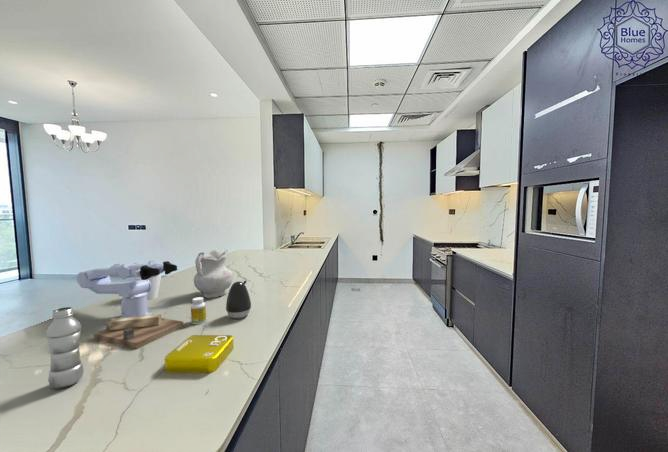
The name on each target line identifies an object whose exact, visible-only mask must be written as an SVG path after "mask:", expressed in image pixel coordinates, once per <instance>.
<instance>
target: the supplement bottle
mask: <svg viewBox="0 0 668 452" xmlns="http://www.w3.org/2000/svg"><path fill="white" fill-rule="evenodd" d="M206 311H207V310H206V303H205V302H204V297H203V296H198V297H194V298H192V304H191V306H190V320H191V324H193V325H200V324H204V323H205V322H206V321H207V312H206Z"/></svg>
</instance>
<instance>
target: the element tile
mask: <svg viewBox="0 0 668 452" xmlns="http://www.w3.org/2000/svg"><path fill="white" fill-rule="evenodd" d="M233 350H234V336H233V335H228V334H193V335H191V336H189V337H187V338H186V339H185V340H184V341H182V342H181V343H180V344H179V345H177V346H176V347H175V348H174V349H173V350H171V351H170V352H169V353H168V354H167V355H166V356H164V371H165V373H168V372H169V373H173V374H176V373H177V374H178V373H179V374H183V373H184V374H210V373H213V372H216V371H217V370H218V369H219V368H220V367H221V366H222V364H223V363H224V362H225V360H226V359H227V358H228V357H229V355H230V354H231V353H232V352H233Z"/></svg>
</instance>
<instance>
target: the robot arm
mask: <svg viewBox="0 0 668 452" xmlns="http://www.w3.org/2000/svg"><path fill="white" fill-rule="evenodd" d="M176 271H178V265H176V264H175V263H174V264H173V263H171V262H170V261H167V260H166V261H163V262H162V263H157V262H155V260H149V261H148V262H147V263H136V262H133V263H130V264H128V263H122V264H120V263H119V262H118V263H114V265H111V266H110V267H100V268H93V269H89V270H85V271H80V272H78V274H76V275H77V276H76V282H77V284H78V285H79V286H80V288H81V289H88V290H90V291H92V292H93V293H95V294H99V295H107V294H109V295H118V296H119V297H122V300H121V302H120V312H121V313H120V314H121V316H119V317H118V318H128V317H138V316H142V315H147V316H148V315H154V314H153V312H149V311H148V300H147V294H148V292H149V291H150V290H151V282H150V281H149V280H148V279H149V278H154V277H156V276H158V275H159V274H161V273H162V274H163V273H164V274H165V275H169V274H171V273H172V272H176ZM139 277H141V279H142V280H138V281H136V280H135V281H124V282H123V281H121V282H120V281H119V282H118V281H116V282H113V281H112V280H111V278H112V279H122V280H127V279H130V278H134V279H135V278H139Z"/></svg>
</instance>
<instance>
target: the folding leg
mask: <svg viewBox="0 0 668 452" xmlns="http://www.w3.org/2000/svg"><path fill="white" fill-rule="evenodd" d="M161 318H162V314H161V313H159V314H151V315H148V316H138V317H128V318H119V317H118V318H116V317H113V316H112V317H111V316H110V317H107V318H106V319H105V323H106V326H105V327H106V329H107V330H116V329H125V328H134V327H144V326H153V325H159V324H160V323H161V322H162V320H161Z"/></svg>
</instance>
